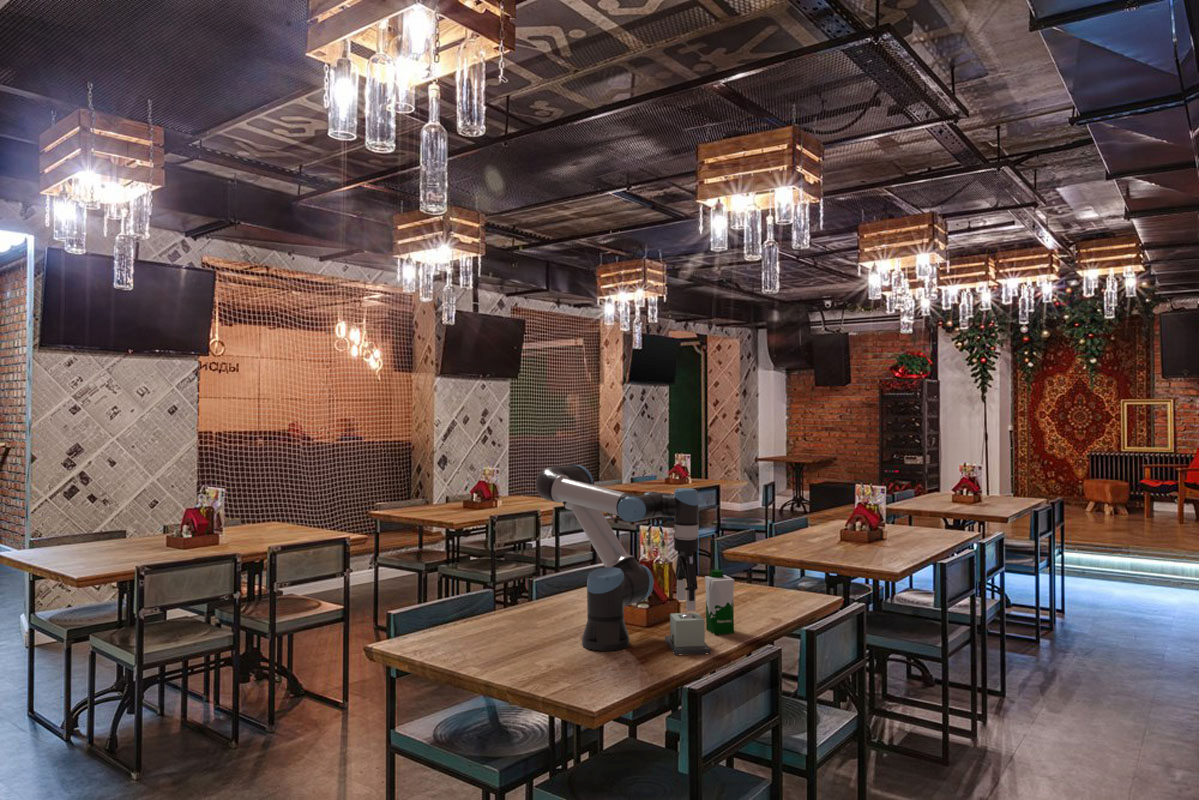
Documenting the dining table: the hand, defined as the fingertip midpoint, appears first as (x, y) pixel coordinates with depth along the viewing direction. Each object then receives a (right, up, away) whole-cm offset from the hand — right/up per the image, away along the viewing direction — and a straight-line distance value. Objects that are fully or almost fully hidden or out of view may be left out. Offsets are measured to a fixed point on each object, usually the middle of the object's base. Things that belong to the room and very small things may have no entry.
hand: (685, 605), depth 246 cm
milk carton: (+13, -13, +17) cm, 26 cm away
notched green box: (0, -11, 0) cm, 11 cm away
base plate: (0, -13, 0) cm, 13 cm away
